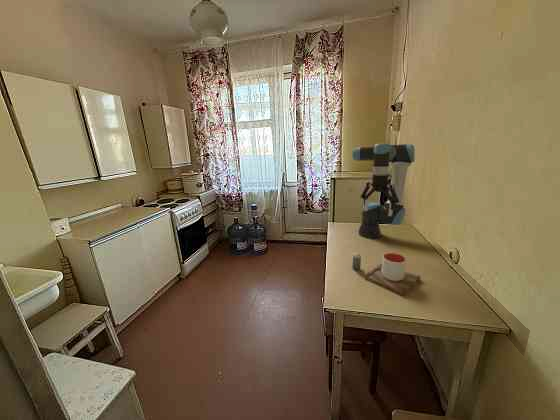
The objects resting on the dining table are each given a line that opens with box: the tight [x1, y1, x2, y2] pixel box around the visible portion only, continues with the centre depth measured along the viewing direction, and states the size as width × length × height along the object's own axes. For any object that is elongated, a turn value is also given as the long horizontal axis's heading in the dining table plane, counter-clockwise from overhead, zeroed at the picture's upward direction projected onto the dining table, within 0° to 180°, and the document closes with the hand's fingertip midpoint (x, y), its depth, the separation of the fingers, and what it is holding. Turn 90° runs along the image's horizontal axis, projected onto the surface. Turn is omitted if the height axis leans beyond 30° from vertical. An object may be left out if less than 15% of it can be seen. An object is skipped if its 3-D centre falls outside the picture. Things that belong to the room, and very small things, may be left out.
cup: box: [381, 252, 407, 281], centre depth 107 cm, size 10×10×10 cm
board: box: [364, 263, 422, 297], centre depth 108 cm, size 18×18×2 cm
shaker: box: [351, 252, 362, 272], centre depth 118 cm, size 4×4×9 cm
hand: (377, 212), depth 123 cm, fingers open, 13 cm apart
